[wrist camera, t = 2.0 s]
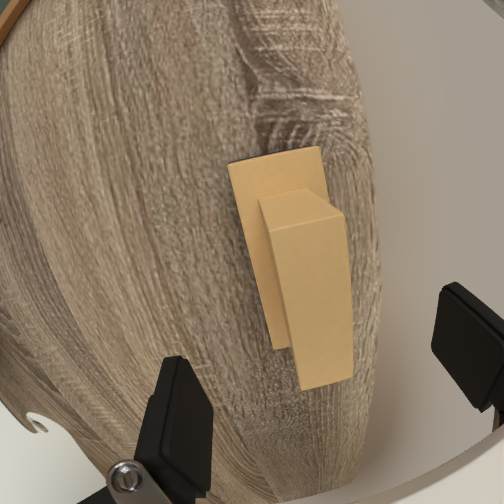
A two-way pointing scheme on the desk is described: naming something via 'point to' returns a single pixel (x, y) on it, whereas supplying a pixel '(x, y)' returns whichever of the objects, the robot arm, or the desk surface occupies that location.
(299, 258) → the eraser
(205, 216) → the desk surface
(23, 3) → the chalkboard
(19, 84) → the desk surface
